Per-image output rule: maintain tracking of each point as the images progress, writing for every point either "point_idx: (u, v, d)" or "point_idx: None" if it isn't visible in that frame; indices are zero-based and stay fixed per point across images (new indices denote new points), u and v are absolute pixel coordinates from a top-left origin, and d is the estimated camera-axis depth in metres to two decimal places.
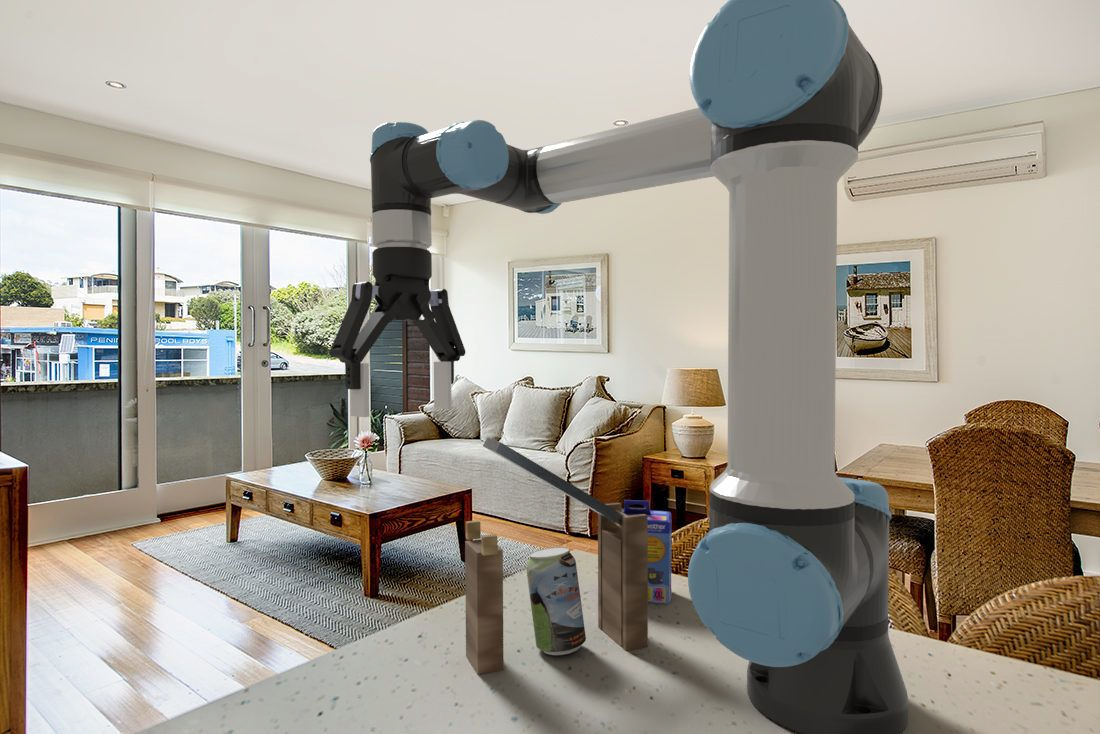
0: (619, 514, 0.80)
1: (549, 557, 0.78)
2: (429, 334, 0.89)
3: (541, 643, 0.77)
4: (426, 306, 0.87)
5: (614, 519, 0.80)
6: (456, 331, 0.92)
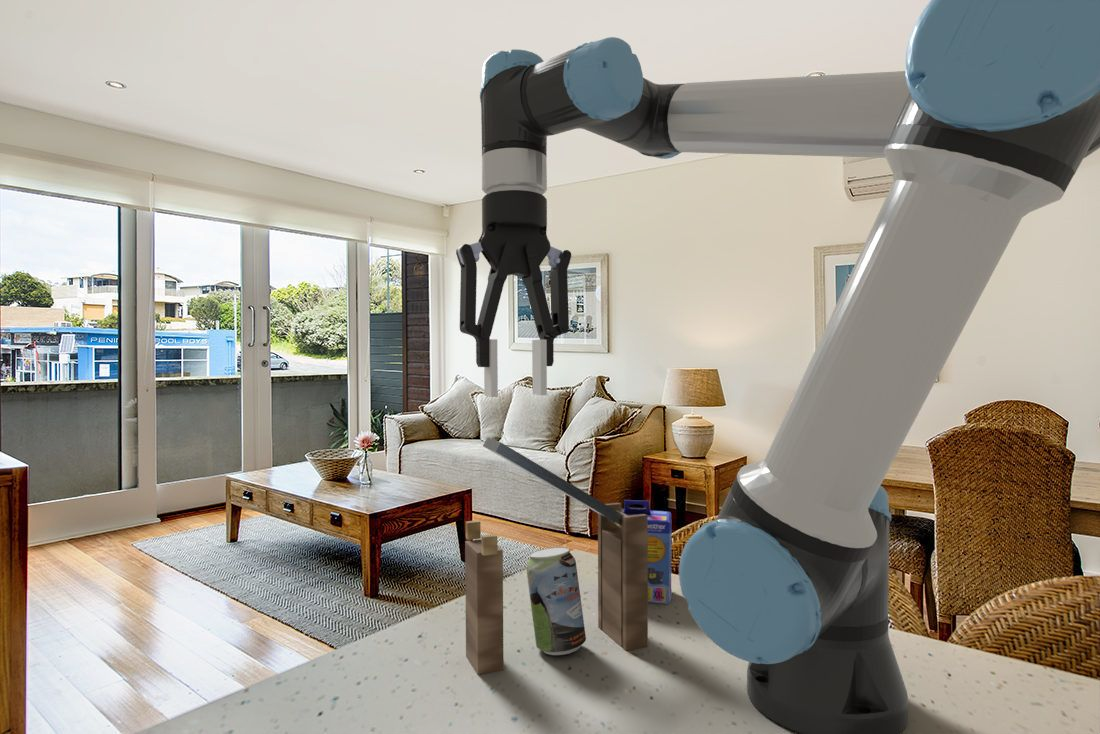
0: (619, 514, 0.80)
1: (549, 557, 0.78)
2: (533, 297, 0.77)
3: (541, 643, 0.77)
4: (536, 262, 0.76)
5: (614, 519, 0.80)
6: (565, 302, 0.78)
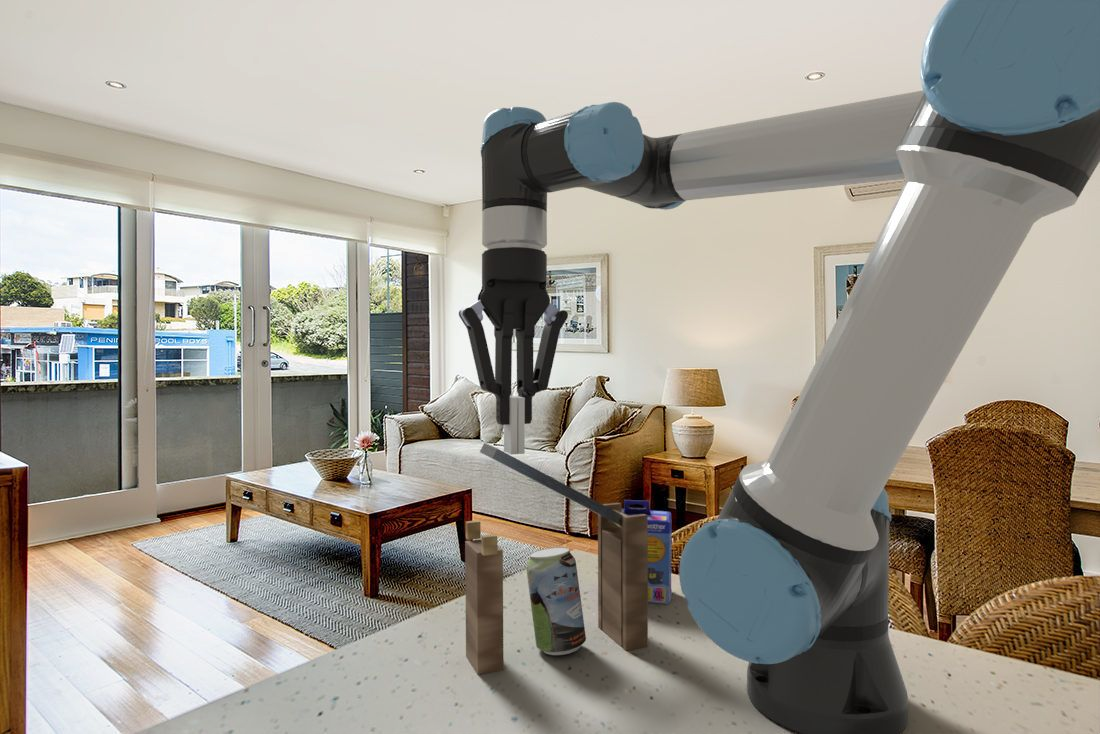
0: (619, 515, 0.80)
1: (549, 557, 0.78)
2: (520, 352, 0.77)
3: (541, 643, 0.77)
4: (532, 318, 0.76)
5: (614, 520, 0.80)
6: (550, 360, 0.78)
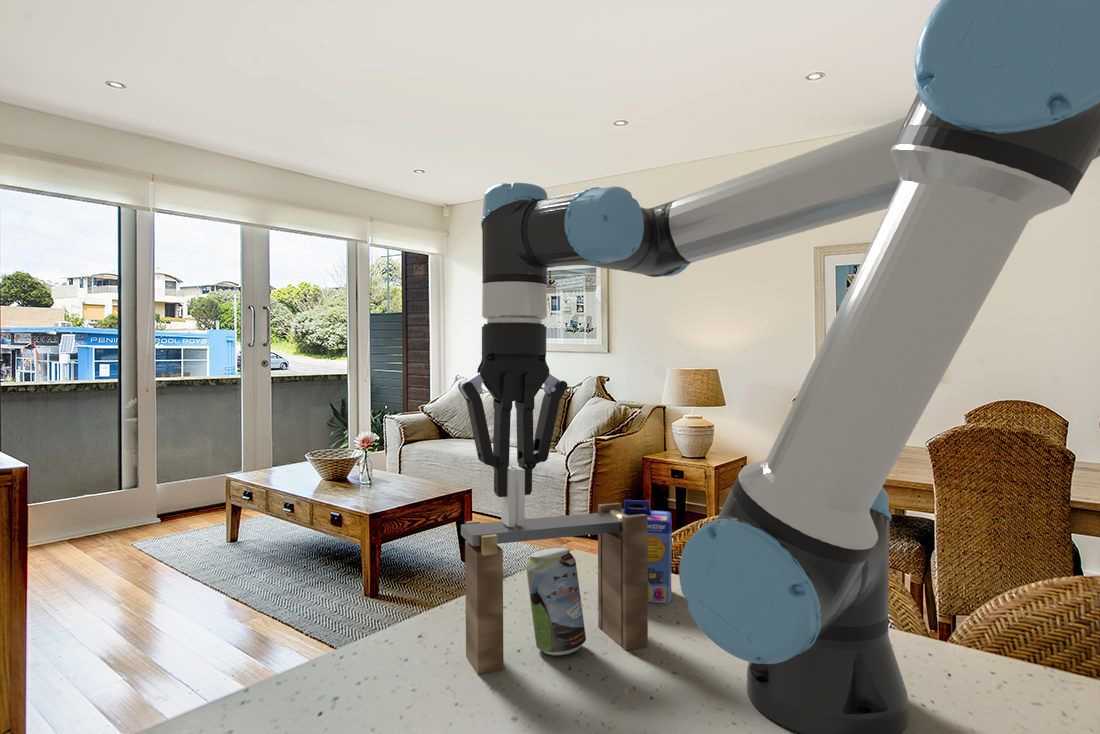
0: (615, 523, 0.80)
1: (549, 557, 0.78)
2: (520, 423, 0.77)
3: (541, 643, 0.77)
4: (532, 391, 0.76)
5: (613, 530, 0.80)
6: (550, 431, 0.78)
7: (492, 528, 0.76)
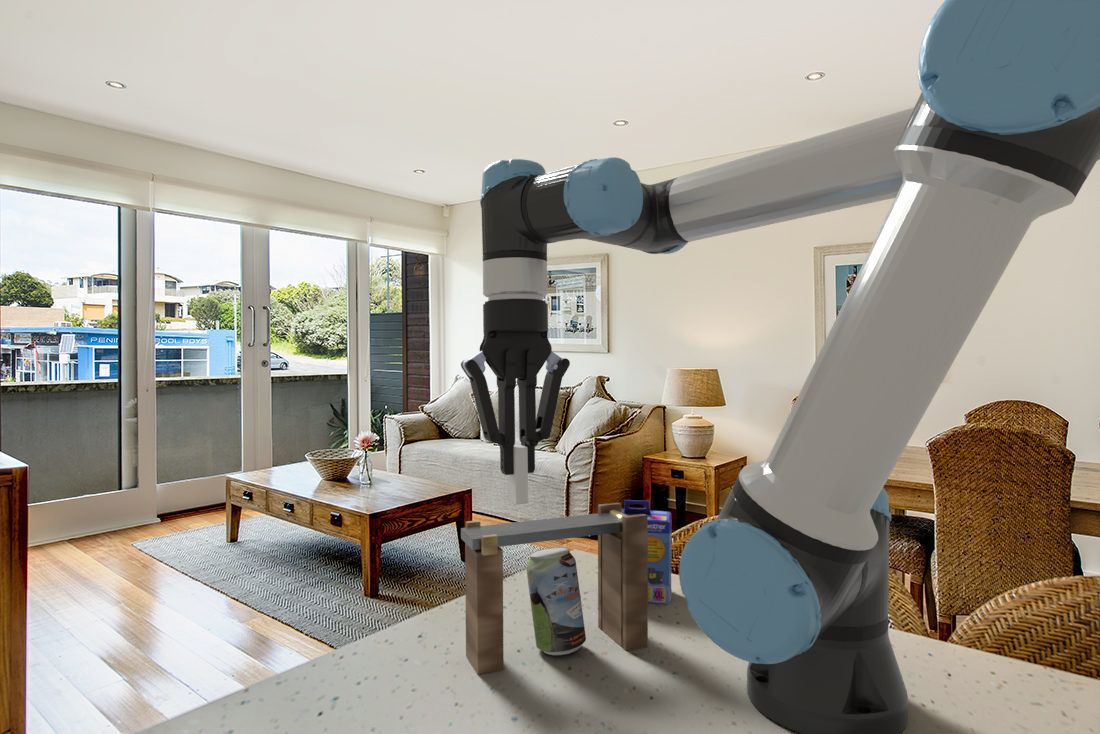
0: (615, 524, 0.80)
1: (549, 557, 0.78)
2: (523, 401, 0.77)
3: (541, 643, 0.77)
4: (534, 368, 0.76)
5: (613, 531, 0.80)
6: (553, 409, 0.78)
7: (492, 531, 0.76)
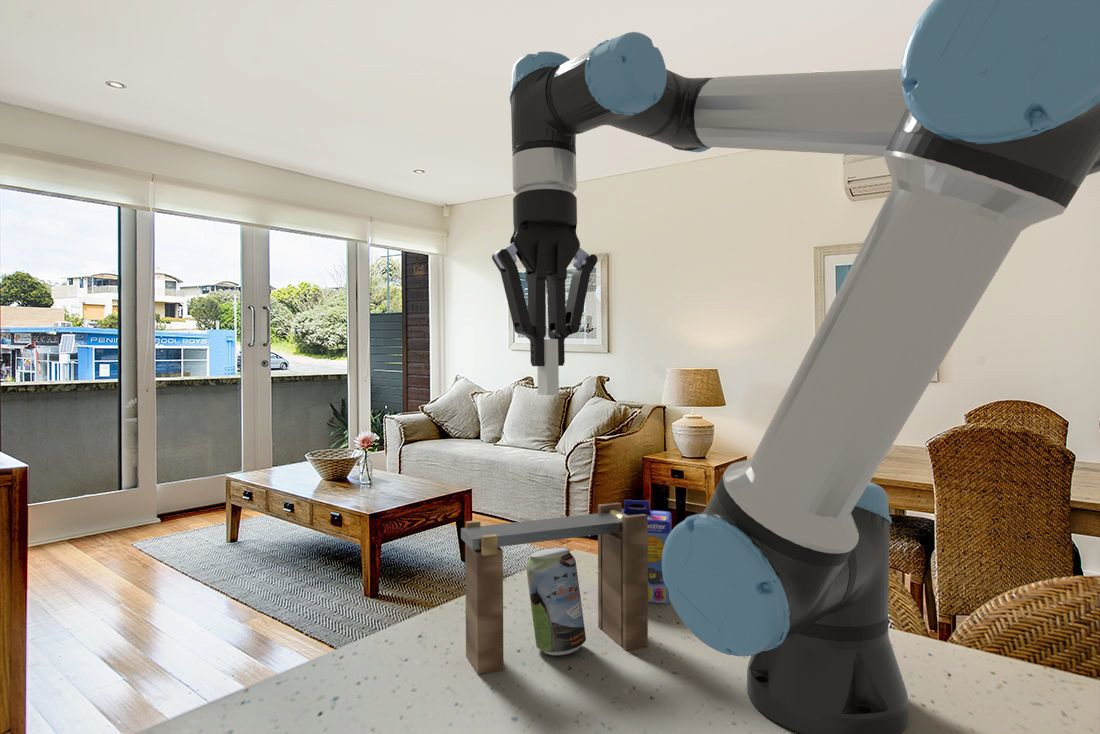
0: (615, 524, 0.80)
1: (549, 557, 0.78)
2: (552, 295, 0.78)
3: (541, 643, 0.77)
4: (564, 260, 0.77)
5: (613, 531, 0.80)
6: (581, 303, 0.79)
7: (492, 531, 0.76)
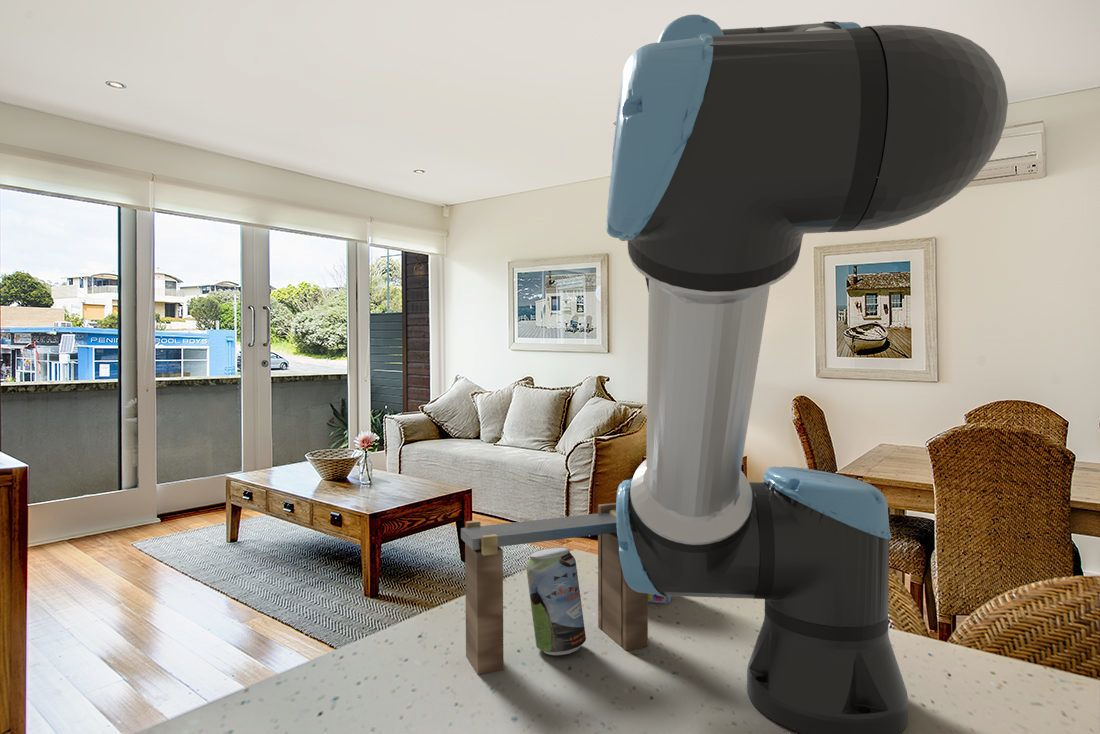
0: (615, 524, 0.80)
1: (549, 557, 0.78)
2: None
3: (541, 643, 0.77)
4: None
5: (613, 531, 0.80)
6: None
7: (492, 531, 0.76)
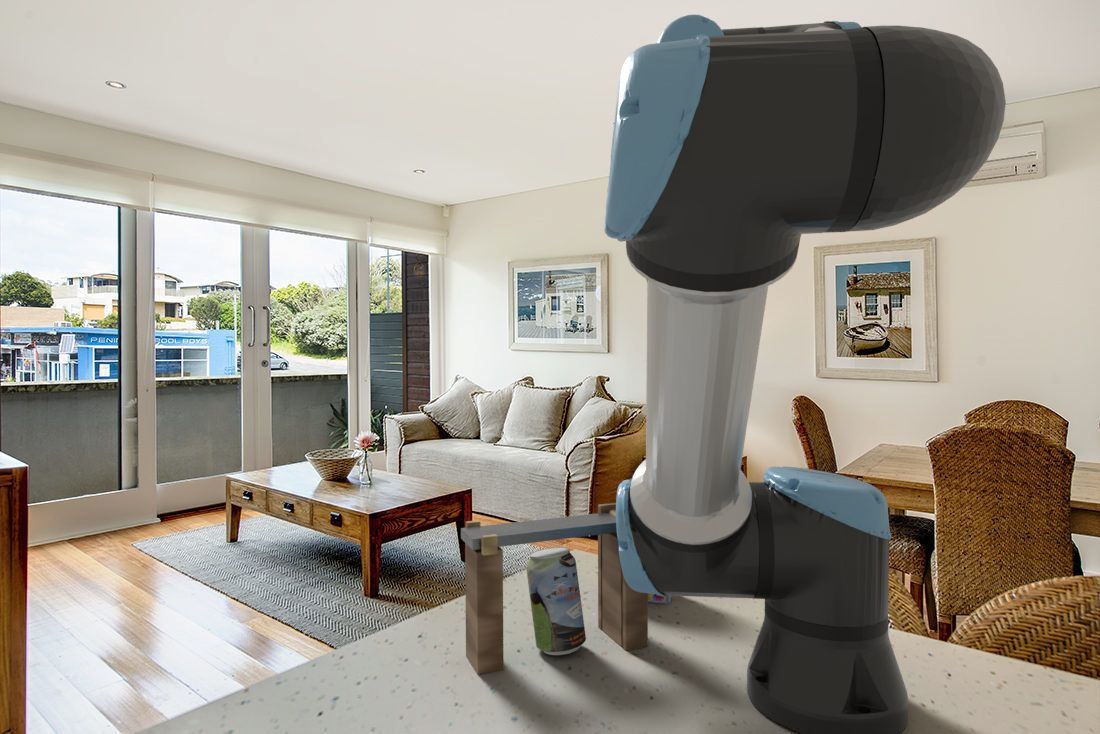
0: (615, 524, 0.80)
1: (549, 557, 0.78)
2: None
3: (541, 643, 0.77)
4: None
5: (613, 531, 0.80)
6: None
7: (492, 531, 0.76)
